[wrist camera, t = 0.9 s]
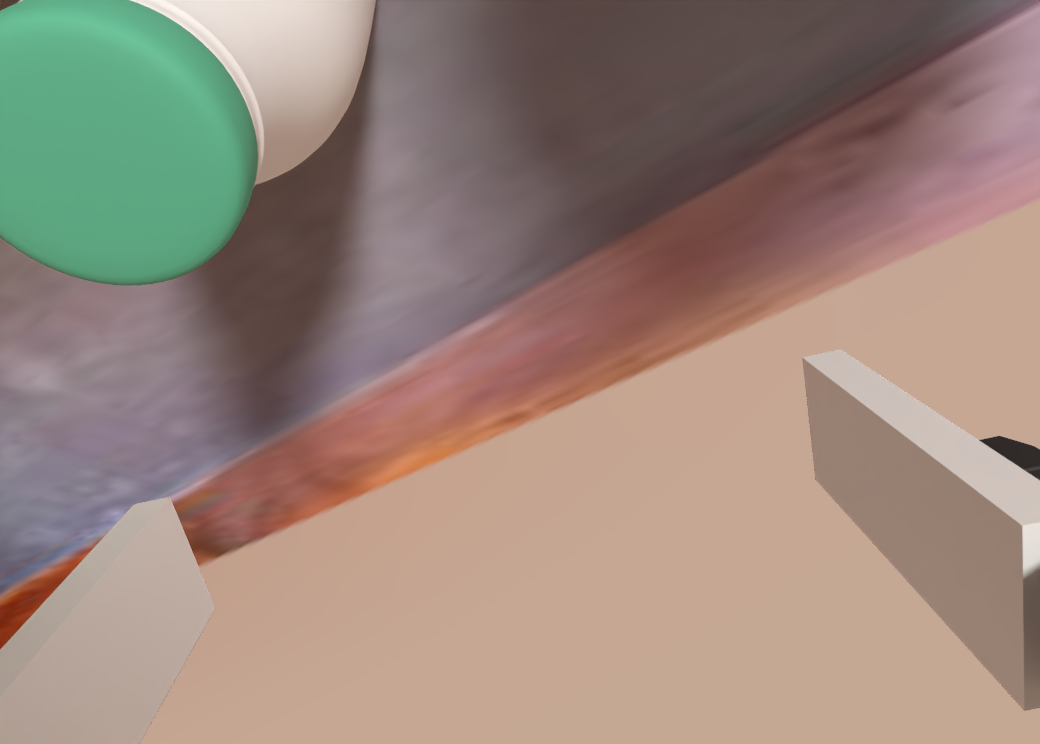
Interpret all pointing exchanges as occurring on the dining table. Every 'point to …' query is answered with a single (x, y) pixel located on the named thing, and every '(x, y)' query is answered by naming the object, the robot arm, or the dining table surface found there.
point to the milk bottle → (161, 122)
